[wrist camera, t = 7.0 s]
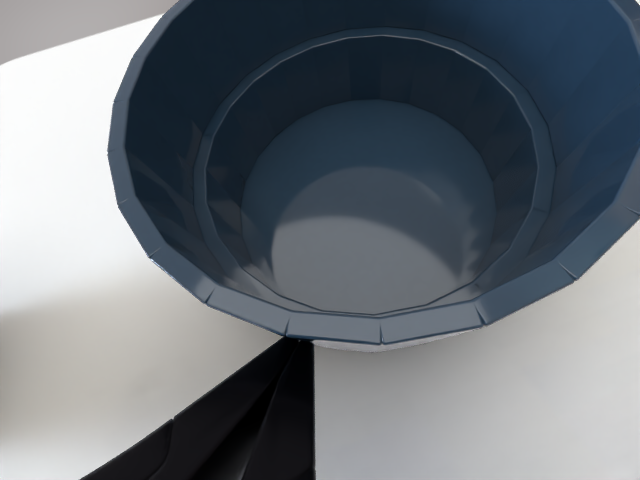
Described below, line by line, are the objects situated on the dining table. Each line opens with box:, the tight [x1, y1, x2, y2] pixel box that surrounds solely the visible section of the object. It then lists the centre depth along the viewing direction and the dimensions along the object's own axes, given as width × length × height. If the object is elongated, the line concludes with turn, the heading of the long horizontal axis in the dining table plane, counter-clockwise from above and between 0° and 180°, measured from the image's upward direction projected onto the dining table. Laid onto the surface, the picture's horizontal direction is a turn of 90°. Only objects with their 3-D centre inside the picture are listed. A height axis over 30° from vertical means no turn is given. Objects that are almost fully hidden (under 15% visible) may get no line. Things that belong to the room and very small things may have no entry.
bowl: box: [107, 0, 640, 353], centre depth 14 cm, size 16×16×9 cm
